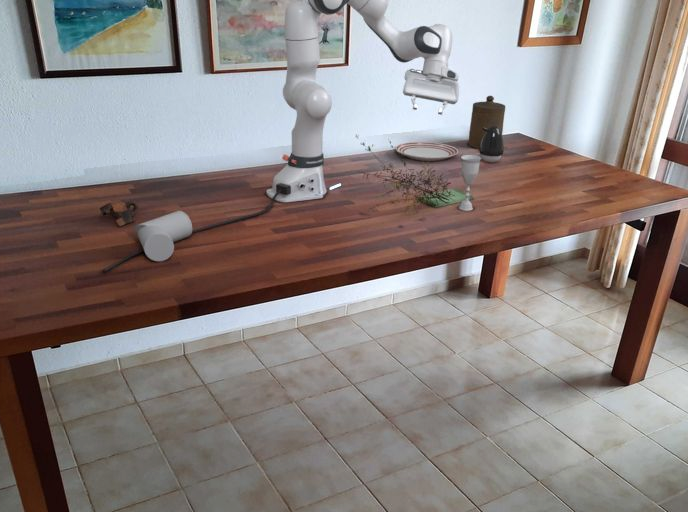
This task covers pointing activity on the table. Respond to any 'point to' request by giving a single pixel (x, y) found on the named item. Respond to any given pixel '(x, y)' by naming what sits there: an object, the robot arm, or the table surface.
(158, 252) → the bent grey cylinder
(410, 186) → the dried plant
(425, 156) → the dinner plate
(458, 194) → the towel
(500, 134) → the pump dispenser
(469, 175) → the chalice
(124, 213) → the brown irregular block
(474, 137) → the wooden container
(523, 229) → the table surface
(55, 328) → the table surface
